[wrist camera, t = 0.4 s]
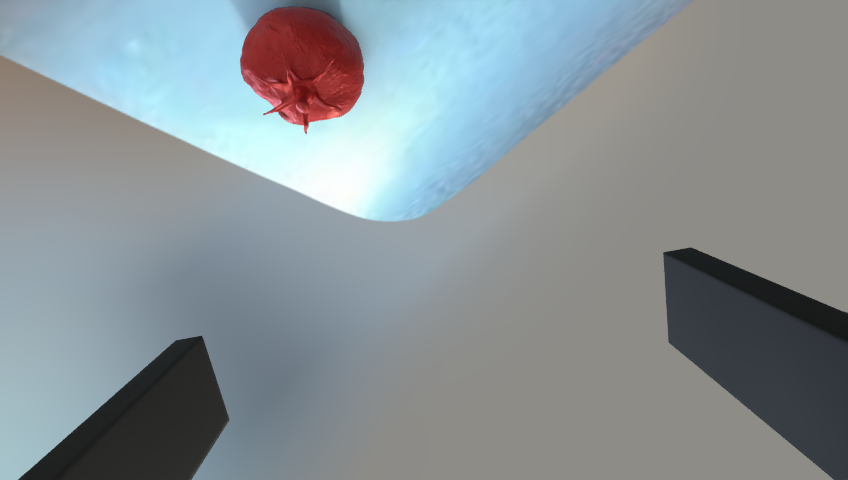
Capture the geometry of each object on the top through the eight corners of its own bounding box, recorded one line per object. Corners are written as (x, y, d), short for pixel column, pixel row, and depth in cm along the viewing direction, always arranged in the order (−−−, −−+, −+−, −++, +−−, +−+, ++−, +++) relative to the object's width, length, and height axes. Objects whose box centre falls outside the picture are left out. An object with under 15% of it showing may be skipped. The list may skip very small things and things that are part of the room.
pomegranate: (267, -31, 36) (241, 15, 30) (382, 26, 40) (381, 77, 34) (241, 75, 43) (216, 132, 36) (343, 116, 46) (336, 173, 40)
